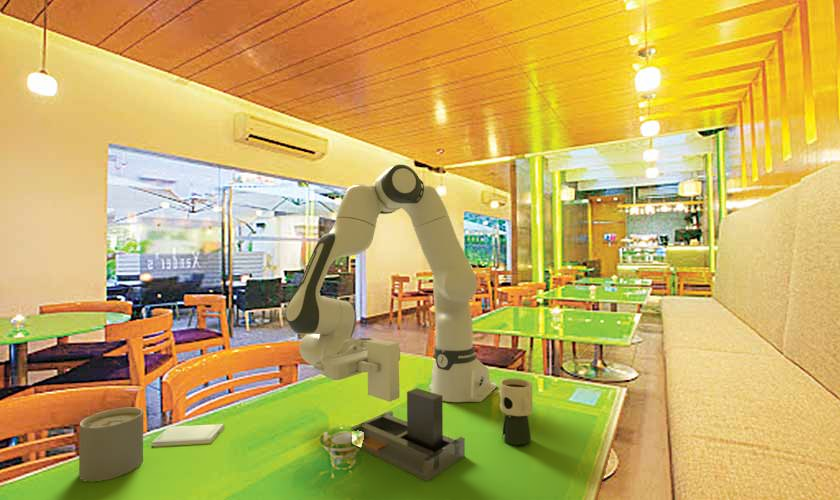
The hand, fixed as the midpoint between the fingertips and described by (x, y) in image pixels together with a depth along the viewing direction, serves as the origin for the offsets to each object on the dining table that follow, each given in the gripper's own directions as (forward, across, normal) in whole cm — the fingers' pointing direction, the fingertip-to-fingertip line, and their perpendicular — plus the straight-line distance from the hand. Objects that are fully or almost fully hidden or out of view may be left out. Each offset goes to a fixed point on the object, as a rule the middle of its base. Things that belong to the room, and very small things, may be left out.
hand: (385, 366), depth 87 cm
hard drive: (-38, -27, +17) cm, 50 cm away
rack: (+5, +1, +17) cm, 18 cm away
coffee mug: (-36, -41, +17) cm, 57 cm away
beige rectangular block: (-1, 0, +7) cm, 7 cm away
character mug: (+21, +20, +18) cm, 34 cm away
